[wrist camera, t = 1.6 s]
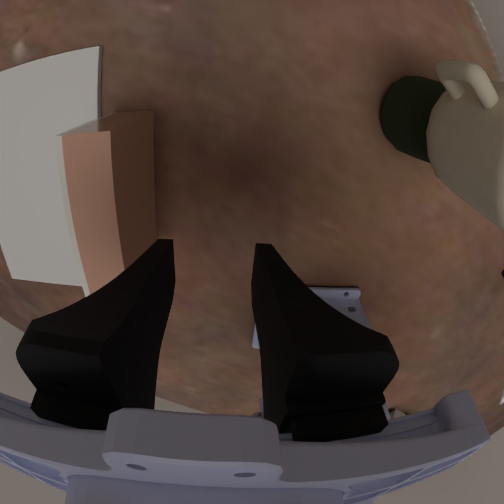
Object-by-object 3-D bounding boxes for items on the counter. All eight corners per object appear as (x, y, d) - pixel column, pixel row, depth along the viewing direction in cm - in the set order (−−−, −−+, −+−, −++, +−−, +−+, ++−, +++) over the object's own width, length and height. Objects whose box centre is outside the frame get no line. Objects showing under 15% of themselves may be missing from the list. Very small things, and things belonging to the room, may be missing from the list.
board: (102, 46, 15) (99, 45, 14) (120, 285, 26) (118, 289, 25) (-21, 80, 14) (-25, 81, 13) (14, 274, 24) (12, 278, 24)
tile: (154, 110, 18) (110, 130, 11) (157, 238, 23) (131, 307, 17) (113, 112, 18) (54, 135, 11) (122, 237, 23) (87, 302, 16)
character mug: (469, 135, 19) (585, 201, 8) (420, 190, 22) (524, 286, 11) (394, 33, 15) (537, 27, 4) (334, 94, 18) (458, 130, 7)
